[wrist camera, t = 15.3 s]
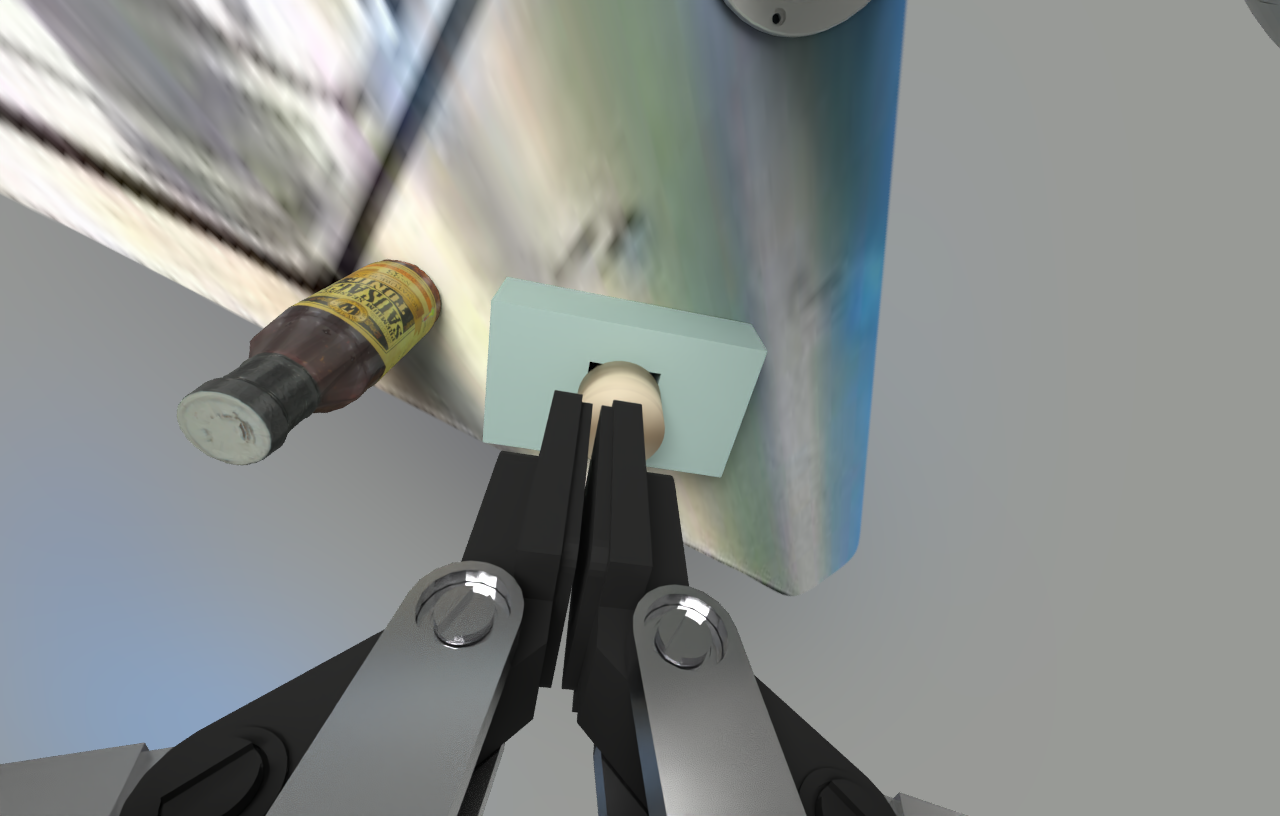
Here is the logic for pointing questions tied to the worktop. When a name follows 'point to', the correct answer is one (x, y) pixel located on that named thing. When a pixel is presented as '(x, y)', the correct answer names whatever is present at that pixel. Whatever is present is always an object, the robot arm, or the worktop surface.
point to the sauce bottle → (312, 361)
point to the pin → (625, 398)
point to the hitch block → (619, 331)
